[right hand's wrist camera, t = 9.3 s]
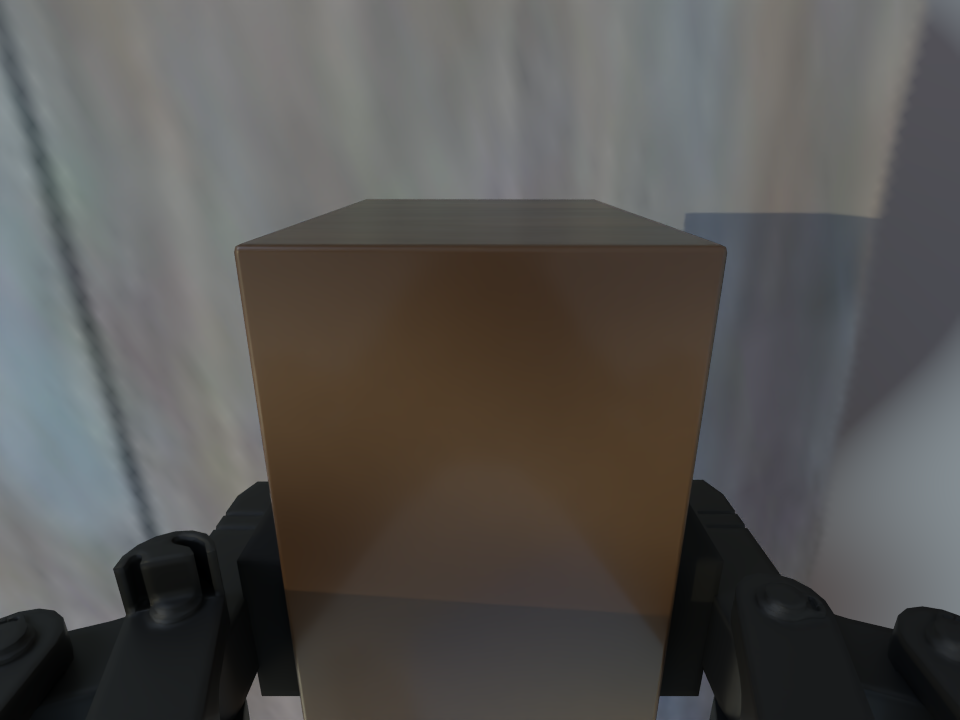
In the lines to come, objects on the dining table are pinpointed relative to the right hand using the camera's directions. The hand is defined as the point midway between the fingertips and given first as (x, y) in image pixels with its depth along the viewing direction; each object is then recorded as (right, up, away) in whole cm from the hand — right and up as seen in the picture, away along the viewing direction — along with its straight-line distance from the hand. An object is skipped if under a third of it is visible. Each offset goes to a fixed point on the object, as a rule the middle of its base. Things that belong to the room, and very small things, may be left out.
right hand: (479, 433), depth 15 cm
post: (0, -26, +10) cm, 28 cm away
